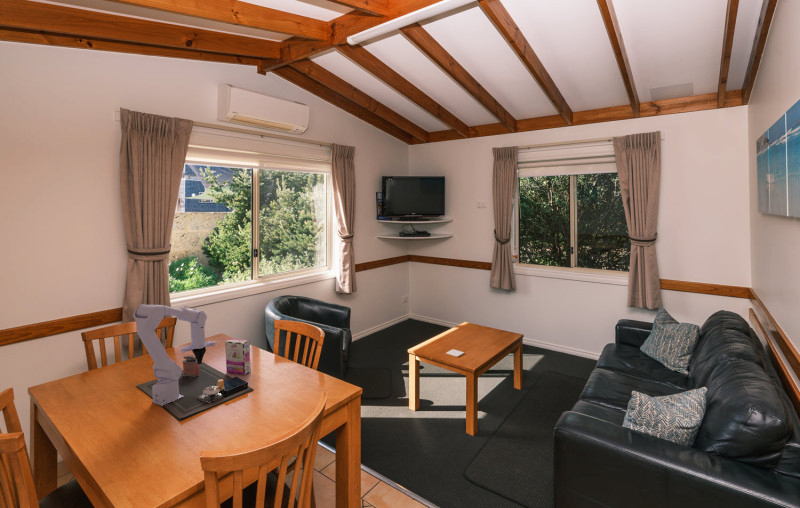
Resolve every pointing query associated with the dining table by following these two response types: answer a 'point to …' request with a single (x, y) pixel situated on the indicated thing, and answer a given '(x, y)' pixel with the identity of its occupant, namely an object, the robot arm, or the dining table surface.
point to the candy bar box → (238, 356)
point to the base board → (211, 396)
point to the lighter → (190, 366)
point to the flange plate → (213, 388)
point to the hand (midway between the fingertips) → (199, 363)
